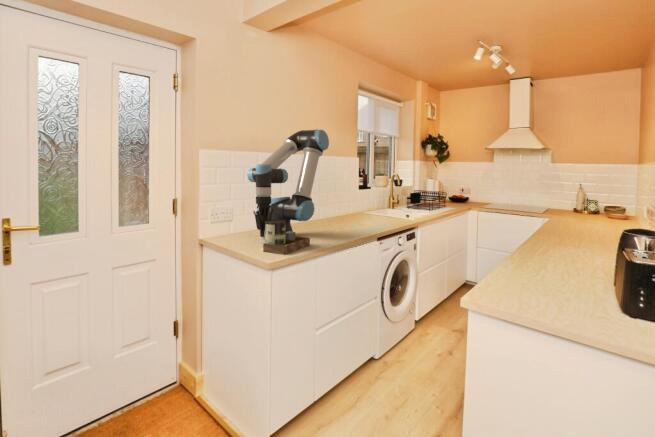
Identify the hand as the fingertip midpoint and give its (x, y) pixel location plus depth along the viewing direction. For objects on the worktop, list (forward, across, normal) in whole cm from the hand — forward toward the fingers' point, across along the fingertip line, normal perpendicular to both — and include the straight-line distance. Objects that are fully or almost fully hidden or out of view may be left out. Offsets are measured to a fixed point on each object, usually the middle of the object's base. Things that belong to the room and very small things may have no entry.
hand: (263, 242), depth 183 cm
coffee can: (+3, -1, +6) cm, 7 cm away
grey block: (+3, -11, +8) cm, 14 cm away
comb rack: (+3, -5, +11) cm, 12 cm away
